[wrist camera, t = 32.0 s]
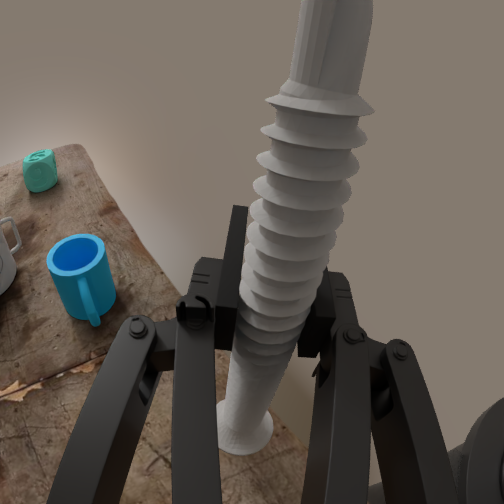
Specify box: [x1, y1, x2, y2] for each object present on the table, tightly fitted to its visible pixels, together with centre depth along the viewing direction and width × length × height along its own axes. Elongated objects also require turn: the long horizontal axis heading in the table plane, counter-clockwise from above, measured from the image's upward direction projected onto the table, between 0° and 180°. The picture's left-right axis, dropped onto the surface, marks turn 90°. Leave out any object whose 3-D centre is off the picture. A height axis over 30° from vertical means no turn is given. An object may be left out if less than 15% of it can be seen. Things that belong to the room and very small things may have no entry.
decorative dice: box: [23, 150, 58, 192], centre depth 59 cm, size 8×8×8 cm
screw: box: [216, 0, 375, 456], centre depth 13 cm, size 5×26×5 cm
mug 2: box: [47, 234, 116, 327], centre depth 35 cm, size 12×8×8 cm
